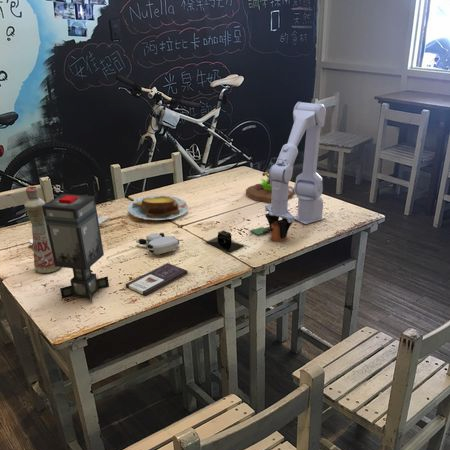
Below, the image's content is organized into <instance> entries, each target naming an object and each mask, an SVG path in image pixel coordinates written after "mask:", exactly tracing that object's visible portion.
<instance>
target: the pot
mask: <svg viewBox="0 0 450 450" xmlns="http://www.w3.org/2000/svg"><path fill="white" fill-rule="evenodd" d="M267 232H270V235H271V236H270V240H271V241H273V242H284V241H285V240H286V238H282V239H281V238H280V228H279V224H278V222H277V221H274V222H272V224H271V229H267V230H264V231H263V233H267ZM267 234H268V233H267Z"/></svg>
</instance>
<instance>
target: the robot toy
mask: <svg viewBox="0 0 450 450" xmlns="http://www.w3.org/2000/svg"><path fill="white" fill-rule="evenodd" d="M180 242H184V239H179V238H177V237H174V236H172V235H165V233H164V232H160V233H158V232H153V233H150V234H147V235H146V236H145V238H139V239H137V240H135V243H137V244H139V245H142V246H145V245H146V247H147V248H146V250H147V251H149V252H151V253H153V254H155V255H161V254H165V253H169V252H171V251H174V250H176V249H177V248H179V246H180Z"/></svg>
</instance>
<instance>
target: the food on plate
mask: <svg viewBox="0 0 450 450" xmlns="http://www.w3.org/2000/svg"><path fill="white" fill-rule="evenodd" d="M188 211H189V205H188V203H187V201H186V200H184V199H182V198H180V197H178V196H174V195H167V194H158V195H157V194H156V195H148V196H143V197H140V198H136V199H134V200H132V201H131V202H130V203H129V204H128V206H127V213H128V214H129V215H131V217H133V218H134V219H137V218H138V219H142V220H146V221H147V220H148V221H151V220H152V221H162V220H163V221H165V220H172V219H175V218H178V217H180V216H184V215H186V213H187V212H188Z"/></svg>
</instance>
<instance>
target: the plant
mask: <svg viewBox="0 0 450 450" xmlns="http://www.w3.org/2000/svg"><path fill="white" fill-rule="evenodd" d="M269 171H270V170H266V171H265V172H262V174H261V175H262V177H265V176H266V177H267V178H266V179H263V178H261V180H260V182H259V183H256V184H253V185H250V186H248V187H247V188H245V195H246V196H247V197H248V198H249V199H251V200H254V201H256V202H264V203H267V204H271V198H272V186H271V185H270V179H269ZM294 195H296V194H295V192H294V186H290V185H288V200H289V199H291V198H293V196H294Z"/></svg>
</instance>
